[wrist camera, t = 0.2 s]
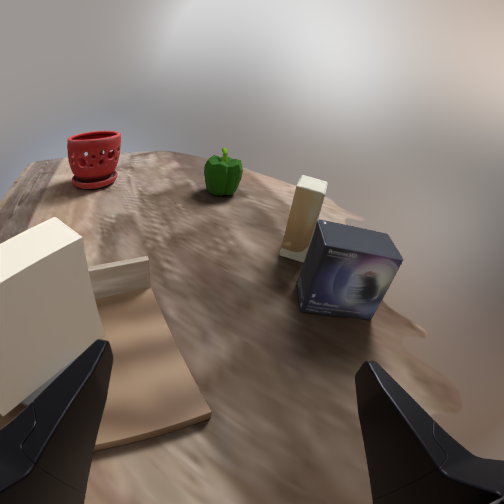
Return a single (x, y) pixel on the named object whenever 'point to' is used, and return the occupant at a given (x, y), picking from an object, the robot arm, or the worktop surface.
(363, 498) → the worktop surface
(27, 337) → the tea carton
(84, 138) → the plant pot
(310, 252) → the small box
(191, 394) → the shelf board
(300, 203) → the skincare box
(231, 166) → the bell pepper
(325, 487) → the worktop surface
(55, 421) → the robot arm
